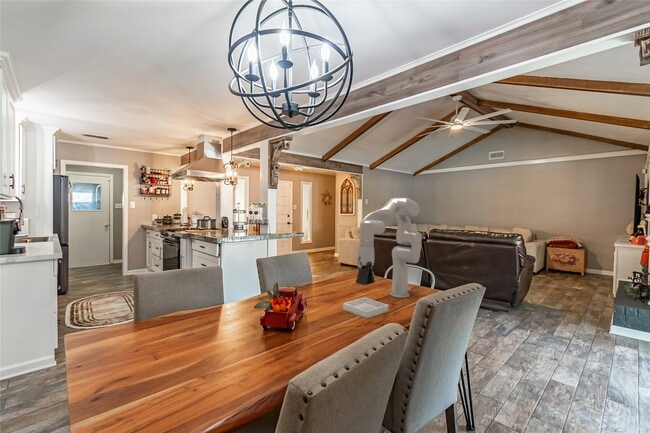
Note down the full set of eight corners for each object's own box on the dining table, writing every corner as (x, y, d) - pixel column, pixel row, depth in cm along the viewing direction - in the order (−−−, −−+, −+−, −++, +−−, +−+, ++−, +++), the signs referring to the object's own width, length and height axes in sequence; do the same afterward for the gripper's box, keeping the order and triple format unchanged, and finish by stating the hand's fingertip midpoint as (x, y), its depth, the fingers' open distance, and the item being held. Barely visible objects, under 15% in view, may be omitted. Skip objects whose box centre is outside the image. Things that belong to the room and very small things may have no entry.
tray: (364, 303, 176) (364, 297, 176) (388, 311, 164) (388, 304, 164) (342, 309, 164) (343, 303, 164) (366, 318, 152) (367, 312, 152)
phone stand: (363, 285, 158) (364, 262, 157) (355, 283, 162) (356, 261, 162) (374, 282, 164) (375, 261, 163) (366, 280, 168) (367, 259, 168)
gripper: (370, 242, 170) (369, 274, 171) (351, 244, 160) (350, 278, 160) (381, 243, 165) (380, 277, 165) (362, 245, 154) (361, 281, 155)
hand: (365, 277), depth 163 cm, fingers closed on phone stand, 1 cm apart
